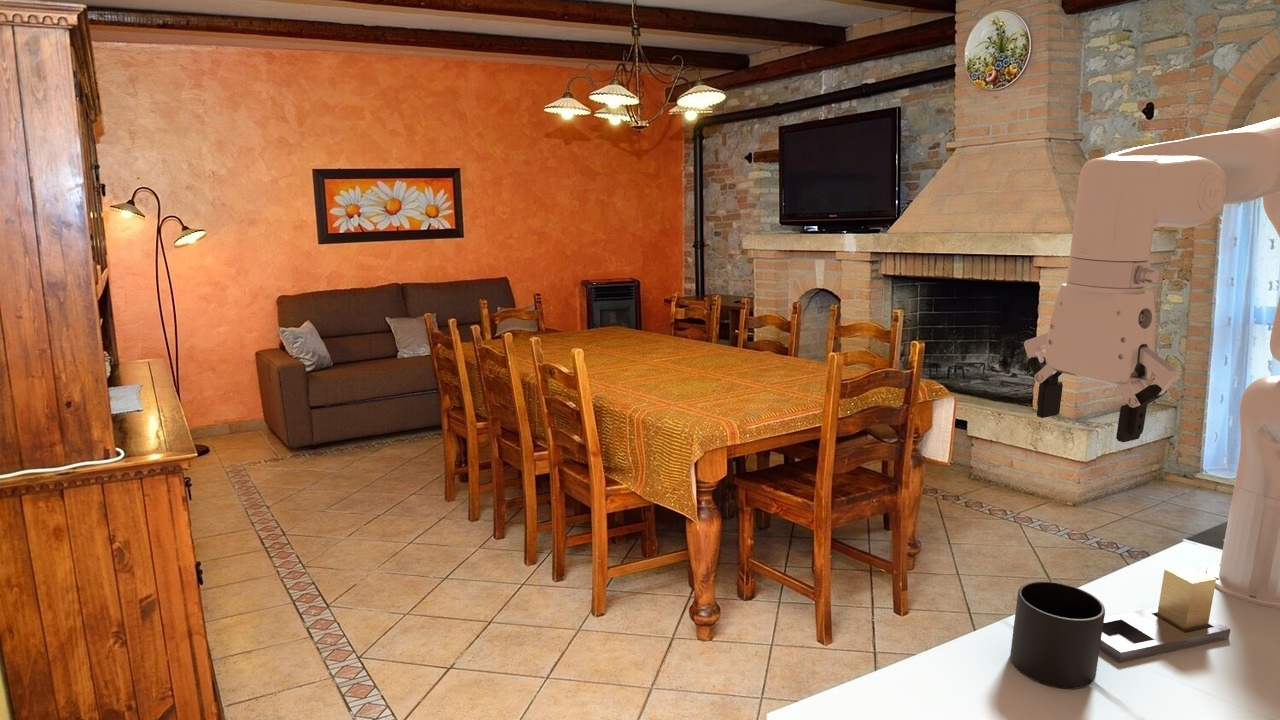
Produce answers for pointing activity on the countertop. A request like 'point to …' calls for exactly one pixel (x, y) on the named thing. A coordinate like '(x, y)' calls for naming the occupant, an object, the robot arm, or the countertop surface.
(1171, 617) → the wooden block
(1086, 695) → the countertop surface
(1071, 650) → the mug
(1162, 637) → the grey slotted board
